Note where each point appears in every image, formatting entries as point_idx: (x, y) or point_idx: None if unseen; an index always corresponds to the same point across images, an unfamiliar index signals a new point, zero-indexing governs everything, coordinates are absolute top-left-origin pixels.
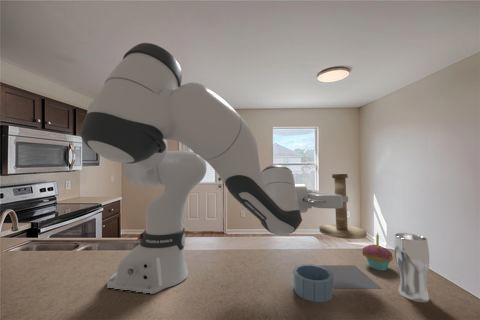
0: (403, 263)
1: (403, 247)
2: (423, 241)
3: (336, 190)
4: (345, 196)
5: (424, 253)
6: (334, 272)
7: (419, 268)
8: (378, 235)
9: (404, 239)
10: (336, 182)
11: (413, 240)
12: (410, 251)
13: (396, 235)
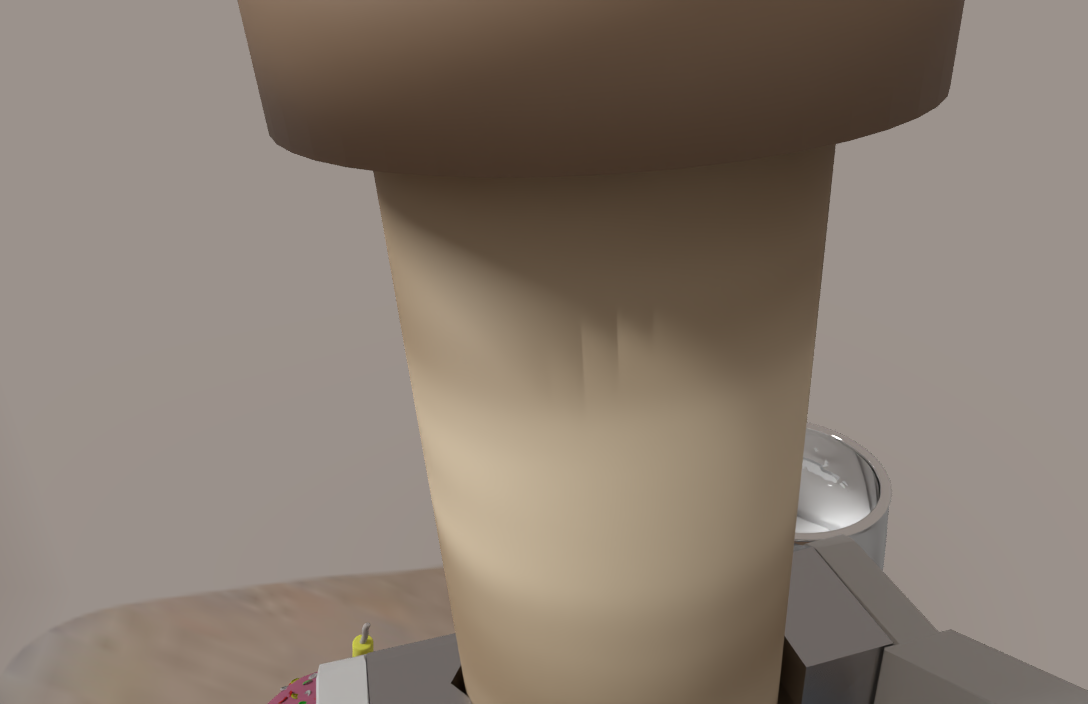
0: None
1: None
2: (860, 447)
3: (742, 622)
4: (877, 571)
5: (853, 511)
6: None
7: None
8: (371, 638)
9: (881, 519)
10: (789, 335)
11: (890, 483)
12: (883, 564)
13: (802, 533)
